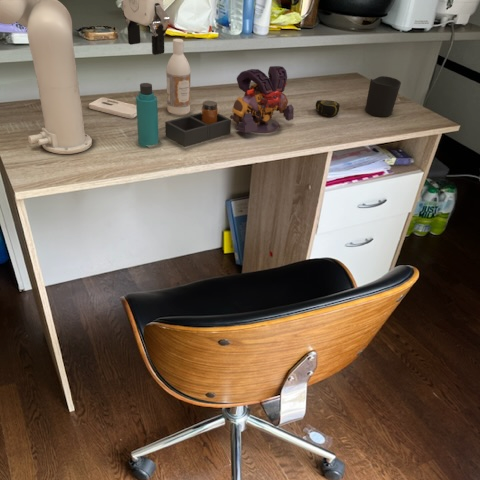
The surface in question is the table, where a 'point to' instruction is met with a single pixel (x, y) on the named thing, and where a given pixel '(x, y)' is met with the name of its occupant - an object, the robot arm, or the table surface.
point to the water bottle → (147, 116)
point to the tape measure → (327, 107)
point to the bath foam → (178, 80)
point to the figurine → (261, 100)
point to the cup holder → (196, 129)
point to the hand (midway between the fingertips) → (146, 48)
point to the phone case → (114, 107)
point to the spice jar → (209, 112)
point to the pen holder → (382, 96)
